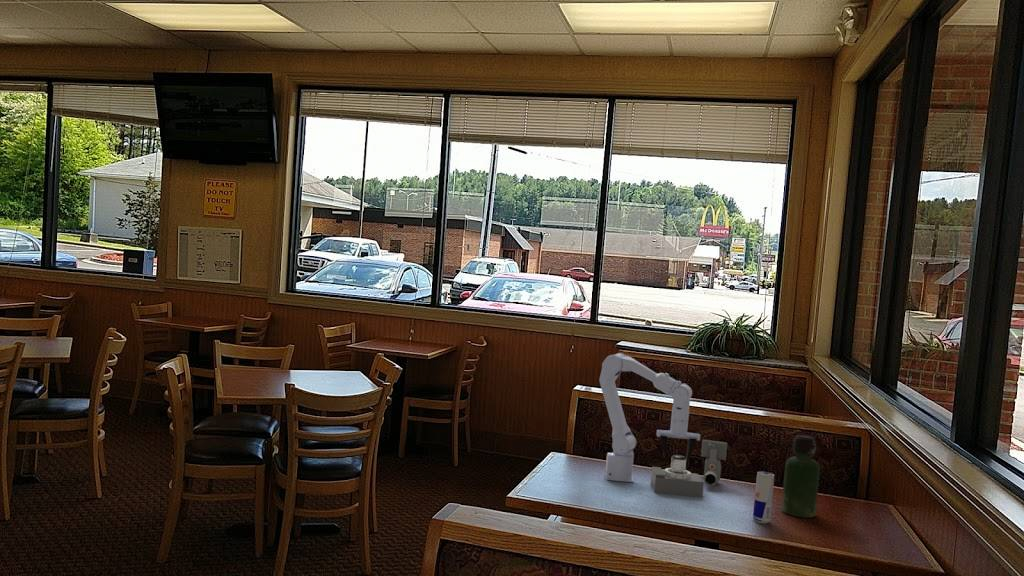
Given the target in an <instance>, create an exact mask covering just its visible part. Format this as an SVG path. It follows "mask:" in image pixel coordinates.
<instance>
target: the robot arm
mask: <svg viewBox="0 0 1024 576" xmlns="http://www.w3.org/2000/svg"><path fill="white" fill-rule="evenodd" d="M622 372H633V373H635V374H637V375H639V376H640V377H643V378H644V379H646V380H649V381H650V382H652V384H653V387H654V388H655V389H657V390H658V391H661V392H662V393H664V394H666V395H668V396H669V397H671V398H672V400H673V401H672V408H671V418H670V428H669V429H668V430H666V429H665V430H664V429H656V437H657V438H659V440H660V444H661V446H662V454H663V455H662V456H663V457H662V458H663V459H667V452H668V451H667V450H668V442H669V440H668V438H672V439H682V440H683V439H684V440H687V442H686V444H687V445H686V446H687V447H686V455H685V457H686V462H689V461H690V458H691V455H692V452H693V450H694V448H696V446H697V443H698V442H700V441H701V434H699V433H694V432H688V427H689V426H688V425H689V417H690V402H691V400H690V399H691V398H692V395H693V391H692V390H693V389H692V388H691V387H690V386H689V385H688V383H682V381H680V380H676V379H675V378H673V377H671V376H670V374H669V373H667V372H665V373H664V372H659V373H657V372H655V371H653V370H652V369H650V368H649V367H647V366H646V365H644V364H642V363H640V362H639V360H638V361H637V360H636V359H634V358H633V357H632V356H630V355H629V356H628V355H626V354H624V353H623V352H622V353H621V352H618V353H616V354H610V355H608V356H607V357H606V358H605V359H603V362H602V364H601V372H600V376H599V380H598V381H599V385H600V388H601V393H602V395H603V398H604V402H605V405H606V409H607V413H608V417H609V420H610V425H611V428H612V433H611V438H612V443H611V446H612V450H613V451H612V452H607V453H606V462H605V469H604V476H605V479H606V481H615V482H623V483H624V482H625V483H634V482H635V481H634V478H633V468H634V467H633V466H634V457H635V455H634V454H635V453H634V449H635V447H636V446H637V439H636V437H635V436H634V434H633V433H632V431H631V428H630V426H629V425H628V424H627V421H626V417H625V416H626V415H625V413H624V410H623V406H622V402H621V400H620V395H619V391H618V388H617V385H616V380H617V379H618V378H619V376H620V375H621V373H622Z"/></svg>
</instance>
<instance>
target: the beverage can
mask: <svg viewBox="0 0 1024 576" xmlns="http://www.w3.org/2000/svg"><path fill="white" fill-rule="evenodd" d="M755 480H756V481H755V491H754V501H753V502H754V503H753V513H752V519H753V520H754V521H755V522H756V523H758V524H759V523H760V524H768V523H769V522H770V521H771V517H772V515H771V514H772V506H773V505H772V504H773V494H774V486H775V484H774V483H775V474H774V473H772V472H767V471H757V474H756V479H755Z"/></svg>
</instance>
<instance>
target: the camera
mask: <svg viewBox="0 0 1024 576" xmlns="http://www.w3.org/2000/svg"><path fill="white" fill-rule="evenodd" d="M727 448H728V442H724V441H716V440H710V439H702V441H701V451H700V452H701V454H700V457H702V458H705V460H704V470H703V471H704V472H703V482H704V484H705V485H707V486H710V487H711V486H716V485H717V483H719V481H720V480H721V474H722V473H721V471H722V464H721V460H722V461H723V460H724V461H726V460H727V452H728V451H727V450H728V449H727Z"/></svg>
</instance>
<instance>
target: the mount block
mask: <svg viewBox="0 0 1024 576" xmlns="http://www.w3.org/2000/svg"><path fill="white" fill-rule="evenodd" d="M670 469H671V467H666V468H664V469H662V467H661V466H660V467H659V466H651V474H650V475H651V476H650V485H651V487H652V490H653V492H654V493H659V494H666V493H668V494H669V495H677V494H679V495H678V496H687V495H690V496H689V497H697V496H699V497H698V498H703V496H704V495H703V494H704V487H705V486H704V485H705V481H704V479H703V478H702V477H701V476H700V475H699V473H694V472H693V473H692V472H691V471H689V470H687V469H686V470H685V474H676V473H672V472H670Z"/></svg>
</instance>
